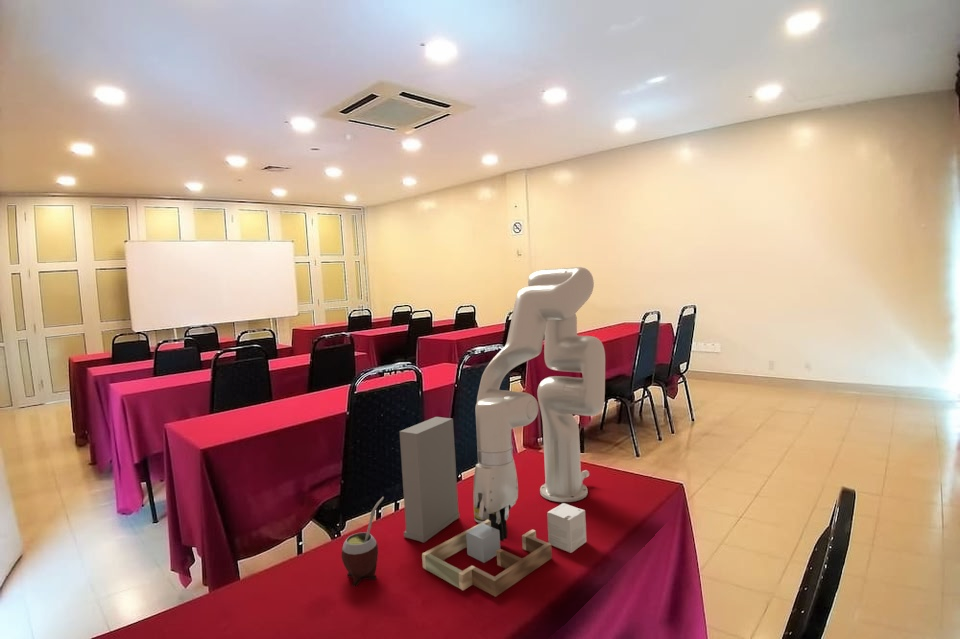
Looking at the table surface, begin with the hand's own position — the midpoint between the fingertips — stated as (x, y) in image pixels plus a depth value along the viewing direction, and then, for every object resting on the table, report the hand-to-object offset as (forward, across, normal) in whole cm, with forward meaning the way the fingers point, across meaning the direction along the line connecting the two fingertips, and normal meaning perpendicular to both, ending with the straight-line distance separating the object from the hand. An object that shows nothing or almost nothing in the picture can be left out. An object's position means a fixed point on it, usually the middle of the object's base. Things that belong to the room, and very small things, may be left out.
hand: (499, 537), depth 111 cm
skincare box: (+2, -10, +11) cm, 15 cm away
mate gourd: (+2, +26, -13) cm, 29 cm away
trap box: (+2, +6, +3) cm, 7 cm away
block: (+2, +5, 0) cm, 5 cm away
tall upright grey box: (+2, +4, -18) cm, 19 cm away
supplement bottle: (+2, -7, -11) cm, 13 cm away
